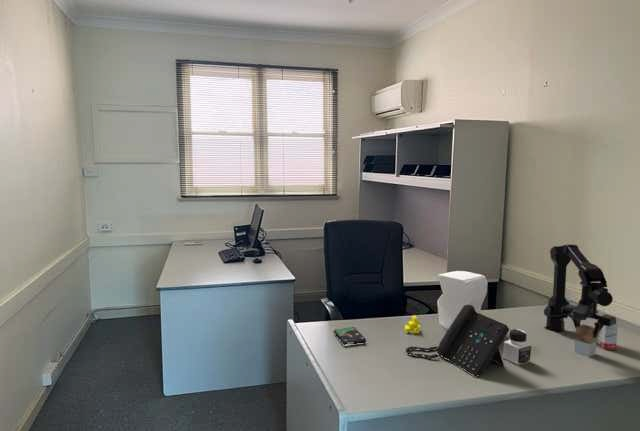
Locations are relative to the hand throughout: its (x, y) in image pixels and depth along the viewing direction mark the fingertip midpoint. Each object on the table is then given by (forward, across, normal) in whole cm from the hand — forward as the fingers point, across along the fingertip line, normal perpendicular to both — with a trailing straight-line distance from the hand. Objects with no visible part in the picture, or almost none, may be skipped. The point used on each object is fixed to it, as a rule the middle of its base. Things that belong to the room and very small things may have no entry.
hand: (586, 335), depth 177 cm
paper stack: (+8, -45, -19) cm, 49 cm away
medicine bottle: (+8, -11, -30) cm, 33 cm away
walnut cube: (+2, 0, 0) cm, 2 cm away
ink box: (+8, +1, +15) cm, 17 cm away
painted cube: (+8, 0, 0) cm, 8 cm away
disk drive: (+8, -63, -74) cm, 97 cm away
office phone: (+8, -25, -51) cm, 57 cm away
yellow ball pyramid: (+8, -54, -44) cm, 70 cm away
